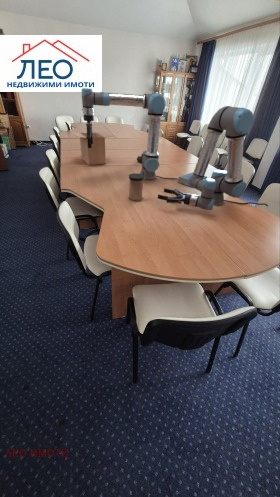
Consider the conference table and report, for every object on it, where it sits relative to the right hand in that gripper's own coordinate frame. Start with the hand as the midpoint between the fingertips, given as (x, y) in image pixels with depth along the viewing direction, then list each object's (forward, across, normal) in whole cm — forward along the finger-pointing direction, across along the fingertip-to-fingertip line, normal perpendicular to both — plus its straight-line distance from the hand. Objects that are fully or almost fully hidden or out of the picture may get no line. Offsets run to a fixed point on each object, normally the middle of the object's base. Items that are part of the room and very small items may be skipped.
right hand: (161, 193), depth 156 cm
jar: (+20, +1, -8) cm, 21 cm away
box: (+98, +65, -8) cm, 117 cm away
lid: (+20, 0, +8) cm, 21 cm away
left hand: (+66, +14, +19) cm, 70 cm away
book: (-11, +59, -8) cm, 61 cm away
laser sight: (+47, +92, -8) cm, 104 cm away
